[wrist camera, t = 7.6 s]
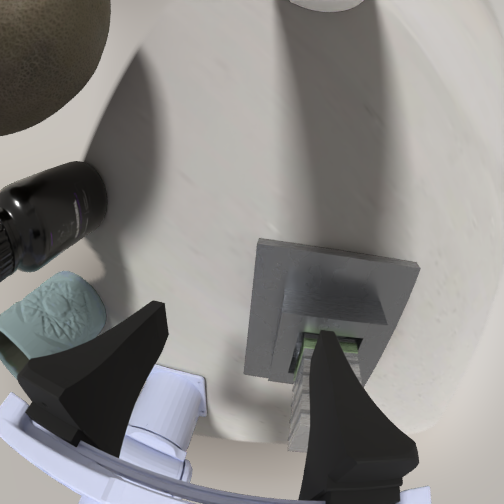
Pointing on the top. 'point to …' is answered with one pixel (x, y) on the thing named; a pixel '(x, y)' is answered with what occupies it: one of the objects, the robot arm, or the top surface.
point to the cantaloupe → (47, 56)
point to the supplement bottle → (48, 215)
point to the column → (301, 389)
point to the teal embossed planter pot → (50, 320)
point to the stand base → (322, 304)
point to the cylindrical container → (327, 4)
